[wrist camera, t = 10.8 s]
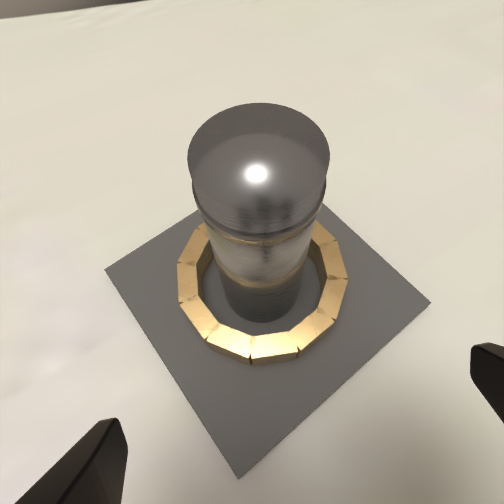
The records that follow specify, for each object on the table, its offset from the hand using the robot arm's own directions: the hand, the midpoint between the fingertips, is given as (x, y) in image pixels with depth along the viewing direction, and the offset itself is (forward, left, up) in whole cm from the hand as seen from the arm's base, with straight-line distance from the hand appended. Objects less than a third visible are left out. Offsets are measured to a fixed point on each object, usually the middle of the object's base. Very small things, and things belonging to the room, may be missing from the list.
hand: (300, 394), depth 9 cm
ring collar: (+7, -4, -13) cm, 15 cm away
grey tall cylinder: (+7, -4, -13) cm, 15 cm away
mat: (+7, -4, -13) cm, 16 cm away
